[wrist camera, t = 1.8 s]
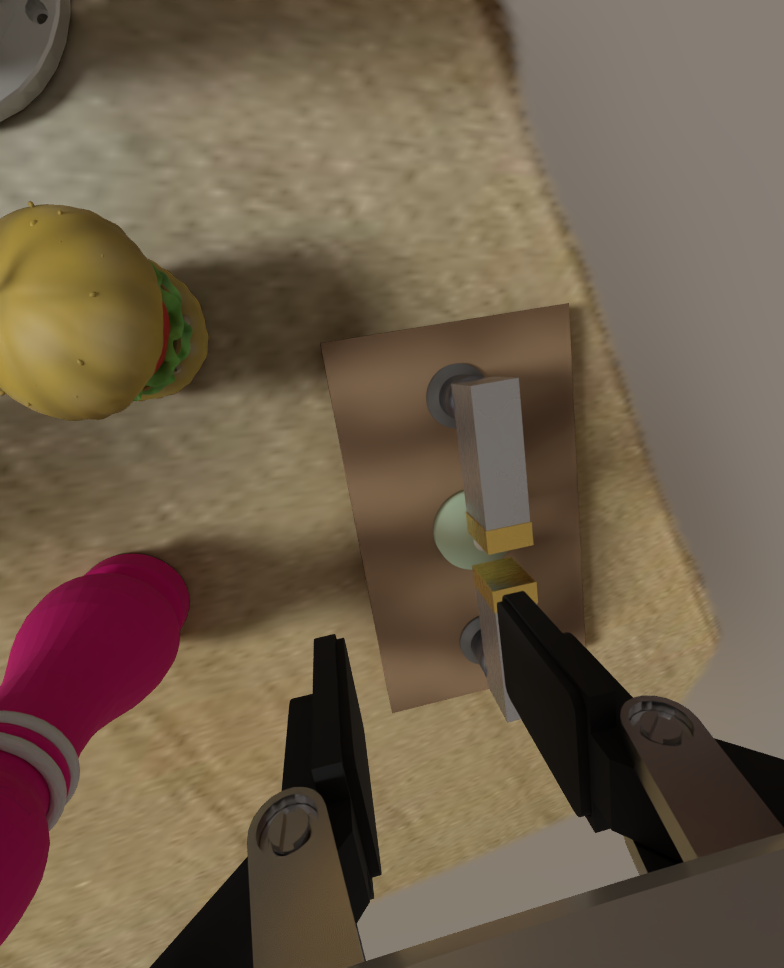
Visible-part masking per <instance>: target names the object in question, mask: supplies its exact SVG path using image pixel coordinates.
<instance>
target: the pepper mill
mask: <svg viewBox="0 0 784 968" xmlns="http://www.w3.org/2000/svg"><path fill="white" fill-rule="evenodd" d="M189 604H190V599H189V593H188V589H187V587H186V584H185V582H184V581H183V579H182V578H181V576H180V575H179V574H178V573H177V572H176V571H175V570H174V569H173V568H172V567H171V566H169V565H168V564H166V563H165V562H163V561H161V560H159V559H157V558H154V557H151V556H148V555H142V554H121V555H116V556H113V557H110V558H107V559H105V560H103V561H101V562H100V563H98V564H97V565H96V566H94V567H93V568H92V569H91V570H90V571H89V572H87V573H86V574H85V575H84V576H82V577H78V578H75V579H72V580H70V581H68V582H65V583H64V584H62V585H60V586H58V587H57V588H55V589H54V590H52V591H51V592H50V593H49V594H47V595H46V596H45V597H44V598H43V599H42V600H41V601H40V602H39V604H38V605H37V606H36V607H35V608H34V609H33V610H32V611H31V613H30V614H29V615H28V616H27V617H26V619H25V621H24V623H23V624H22V626H21V628H20V630H19V632H18V633H17V635H16V638H15V641H14V643H13V646H12V648H11V652H10V656H9V660H8V664H7V668H6V672H5V676H4V679H3V682H2V685H1V686H0V945H1V944H2V943H3V942H4V941H5V940H6V938H7V937H8V935H9V934H10V933H11V931H12V930H13V929H14V927H15V926H16V924H17V923H18V922H19V920H20V919H21V917H22V916H23V914H24V912H25V910H26V909H27V907H28V905H29V904H30V902H31V900H32V898H33V897H34V895H35V893H36V891H37V889H38V887H39V884H40V882H41V880H42V877H43V874H44V870H45V866H46V863H47V858H48V852H49V846H50V840H49V831H50V830H51V829H52V828H53V827H54V825H55V824H56V823H57V821H58V819H59V818H60V816H61V814H62V812H63V809H64V806H65V805H66V803H67V802H68V801H69V800H70V799H71V797H72V796H73V794H74V792H75V790H76V788H77V785H78V781H79V776H80V767H79V760H78V758H79V756H80V753H81V752H82V750H83V749H84V747H85V746H86V744H87V743H88V741H89V740H90V739H91V737H92V736H93V735H94V734H95V733H96V732H97V731H98V730H100V729H101V728H102V727H104V726H105V725H107V724H108V723H109V722H111V721H112V720H114V719H116V718H117V717H119V716H120V715H122V714H124V713H125V712H127V711H129V710H130V709H132V708H133V707H135V706H136V705H137V704H138V703H140V702H141V701H142V700H143V699H144V698H145V697H146V696H148V695H149V694H150V693H151V692H152V691H153V690H154V689H155V688H156V687H157V686H158V685H159V684H160V682H161V681H162V679H163V678H164V676H165V675H166V673H167V672H168V670H169V669H170V667H171V666H172V664H173V662H174V660H175V658H176V655H177V652H178V648H179V643H180V629H181V627H182V626H183V624H184V622H185V620H186V618H187V615H188V611H189Z"/></svg>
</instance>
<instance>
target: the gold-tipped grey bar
mask: <svg viewBox="0 0 784 968" xmlns="http://www.w3.org/2000/svg"><path fill="white" fill-rule="evenodd" d="M439 403H440V406H441V408H442V410H443V411H444V412H445V413H446V414H447V415H448V416H450V417H452V418H455V420H456V428H457V437H458V445H459V453H460V461H461V470H462V478H463V486H464V495H465V503H466V511H467V512H466V521H467V529H468V533H469V534H470V535H471V536H472V537H473V539H474V540H475V541H476V542H477V543H478V544H479V545H480V546H481V547H482V549H483V550H484V551H485V552H486V553H487V554H488V555H490V554H495V553H500V552H504V551H509V550H513V549H518V548H522V547H527V546H532V545H534V544H533V532H532V522H531V521H530V512H529V500H528V488H527V475H526V463H525V450H524V438H523V425H522V413H521V401H520V388H519V378H516V377H497V376H492V377H486V378H484V377H482V376H475V375H455V376H452V377H450V378H449V379H448V380H446V381H445V382H444V384H443V385H442V387H441V389H440V392H439Z"/></svg>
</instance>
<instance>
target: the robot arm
mask: <svg viewBox="0 0 784 968" xmlns="http://www.w3.org/2000/svg"><path fill="white" fill-rule="evenodd" d="M70 15H71V7H70V0H0V122H1V121H3V120H5V119H7V118H8V117H10V116H12V115H14V114H16V113H18V112H19V111H21V110H23V109H24V108H25V107H26V106H27V105H28V104H29V103H31V102H32V101H33V100H34V99H35V98H36V97H37V96H38V95H39V94H40V93H41V92H42V91H43V89H44V88H45V86H46V85H47V83H48V82H49V80H50V79H51V77H52V76H53V74H54V73H55V71H56V70H57V67H58V64H59V62H60V59H61V56H62V53H63V51H64V48H65V45H66V42H67V35H68V28H69V22H70ZM44 22H45V23H44ZM497 614H498V623H499V632H500V642H501V651H502V660H503V669H504V679H505V686H506V690H507V694H508V696H509V698H510V700H511V702H512V704H513V706H514V707H515V709H516V711H517V713H518V714H519V716H520V718H521V720H522V721H523V723H524V725H525V727H526V728H527V730H528V732H529V734H530V735H531V737H532V739H533V741H534V742H535V744H536V746H537V748H538V749H539V751H540V753H541V754H542V756H543V758H544V760H545V761H546V763H547V765H548V767H549V768H550V770H551V772H552V774H553V775H554V777H555V779H556V781H557V782H558V784H559V786H560V788H561V789H562V791H563V793H564V795H565V796H566V798H567V800H568V802H569V803H570V805H571V807H572V809H573V810H574V812H575V813H576V815H577V816H578V817H582V816H585V817H586V818H587V820H588V822H589V823H590V825H591V827H592V828H593V830H594V832H595V833H597V832H600V831H604V830H607V829H611V830H612V831H615V832H617V833H619V834H621V835H623V836H624V839H625V843H626V845H627V848H628V850H629V852H630V854H631V857H632V859H633V862H634V864H635V866H636V869H637V871H638V873H639V875H640V876H637V877H634V878H630V879H627V880H624V881H621V882H617V883H614V884H611V885H608V886H604V887H601V888H598V889H595V890H591V891H588V892H585V893H582V894H578V895H575V896H572V897H569V898H566V899H562V900H559V901H556V902H553V903H549V904H546V905H543V906H540V907H537V908H533V909H530V910H527V911H524V912H521V913H517V914H514V915H511V916H508V917H504V918H501V919H498V920H495V921H492V922H488V923H485V924H482V925H479V926H476V927H473V928H469V929H466V930H463V931H460V932H457V933H453V934H450V935H447V936H444V937H441V938H438V939H435V940H432V941H428V942H425V943H422V944H419V945H416V946H413V947H410V948H406V949H403V950H400V951H397V952H394V953H390V954H387V955H384V956H381V957H378V958H375V959H372V960H368V961H366V959H365V955H364V951H363V947H362V943H361V939H360V935H359V931H358V927H357V922H358V920H359V919H360V917H361V916H362V914H363V912H364V911H365V909H366V907H367V906H368V904H369V903H370V900H371V899H374V892H373V882H372V878H373V877H376V876H379V875H381V864H380V856H379V848H378V840H377V831H376V823H375V815H374V807H373V799H372V791H371V782H370V774H369V766H368V758H367V750H366V742H365V734H364V728H363V722H362V718H361V713H360V708H359V704H358V699H357V694H356V690H355V685H354V681H353V676H352V671H351V667H350V662H349V658H348V653H347V648H346V644H345V640H344V638H341V639H336V635H335V634H332V635H328V636H324V637H319V638H315V639H314V659H313V694H310V695H306V696H302V697H298V698H293V699H291V700H290V704H289V714H288V725H287V737H286V748H285V759H284V770H283V781H282V791H281V792H279V793H278V794H276V795H274V796H273V797H271V798H270V799H269V800H268V801H267V802H266V803H264V804H263V805H262V806H261V808H260V809H259V810H258V812H257V813H256V815H255V816H254V817H253V820H252V822H251V825H250V827H249V829H248V837H247V852H248V857H247V858H246V859H245V860H244V861H243V862H242V864H241V865H240V866H239V867H238V868H237V869H236V870H235V871H234V873H233V874H232V875H231V876H230V877H229V878H228V879H227V881H226V882H225V883H224V884H223V885H222V886H221V887H220V888H219V890H218V891H217V892H216V893H215V894H214V895H213V896H212V898H211V899H210V900H209V901H208V902H207V903H206V904H205V905H204V907H203V908H202V909H201V910H200V911H199V912H198V913H197V915H196V916H195V917H194V918H193V919H192V920H191V921H190V922H189V924H188V925H187V926H186V927H185V928H184V929H183V930H182V932H181V933H180V934H179V935H178V936H177V937H176V938H175V939H174V941H173V942H172V943H171V944H170V945H169V946H168V947H167V949H166V950H165V951H164V952H163V953H162V954H161V955H160V956H159V958H158V959H157V960H156V961H155V962H154V963H153V964H152V966H151V967H150V968H784V760H783V759H780V758H777V757H773V756H770V755H767V754H764V753H761V752H757V751H754V750H751V749H747V748H744V747H741V746H738V745H735V744H731V743H728V742H725V741H722V740H718V739H715V738H713V737H712V736H711V734H710V733H709V732H708V730H707V729H706V728H705V726H704V725H703V724H702V723H701V721H700V720H699V719H698V718H697V717H696V716H695V715H694V714H693V713H692V712H691V711H690V710H689V709H687V708H686V707H684V706H683V705H681V704H679V703H677V702H675V701H672V700H670V699H667V698H663V697H658V696H639V697H634V698H633V697H632V696H631V695H630V694H629V693H628V692H627V691H626V690H625V689H624V688H623V687H622V686H621V685H620V684H619V682H618V681H617V680H616V679H615V678H614V677H613V676H612V675H611V674H610V673H609V672H608V671H607V670H606V669H605V668H604V667H603V666H602V665H601V663H600V662H599V661H598V660H597V659H596V658H595V657H594V656H593V655H592V654H591V653H590V652H589V651H588V650H587V649H586V648H585V647H584V646H583V644H582V643H581V642H580V641H579V640H578V639H577V638H576V637H575V636H574V635H573V634H571V633H569V632H565V633H562V632H561V631H560V630H559V628H558V627H557V626H556V625H555V624H554V623H553V622H552V621H551V620H550V619H549V618H548V616H547V615H546V614H545V613H544V612H543V611H542V610H541V609H540V608H539V607H538V605H537V604H536V603H535V602H534V601H533V600H532V599H531V598H530V597H529V596H528V595H527V593H526V592H524V591H519V592H515V593H511V594H506V595H503V597H502V601H501V602H498V603H497Z"/></svg>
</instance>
